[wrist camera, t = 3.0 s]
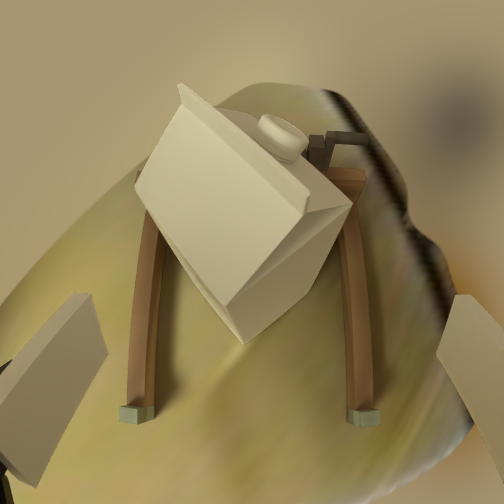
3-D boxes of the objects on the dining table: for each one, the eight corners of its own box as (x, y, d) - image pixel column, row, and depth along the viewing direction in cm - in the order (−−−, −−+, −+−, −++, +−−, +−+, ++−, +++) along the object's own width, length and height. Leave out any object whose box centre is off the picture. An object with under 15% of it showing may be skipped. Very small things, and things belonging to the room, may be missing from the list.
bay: (138, 416, 23) (71, 431, 13) (157, 199, 31) (121, 127, 21) (363, 419, 23) (422, 438, 13) (346, 198, 31) (377, 123, 21)
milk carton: (244, 346, 26) (206, 272, 8) (193, 282, 28) (100, 129, 10) (308, 293, 27) (382, 141, 10) (256, 235, 29) (249, 50, 12)
